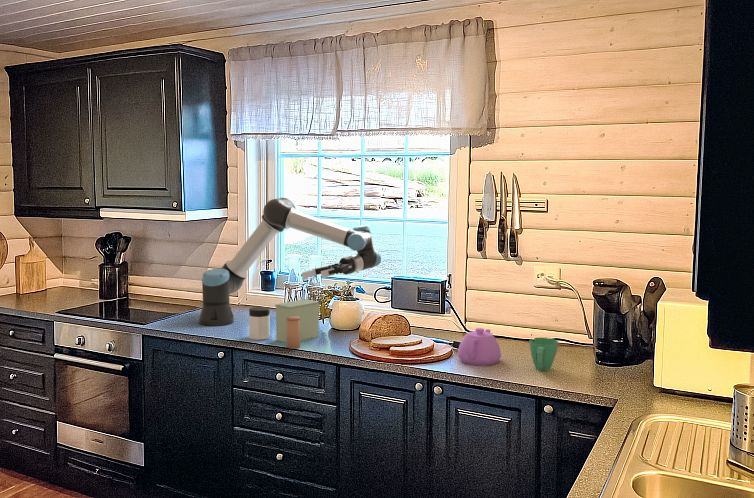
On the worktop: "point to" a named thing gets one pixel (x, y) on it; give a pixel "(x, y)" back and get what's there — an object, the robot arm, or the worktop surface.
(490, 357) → the teapot
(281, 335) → the green tin
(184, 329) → the worktop surface
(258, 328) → the jar
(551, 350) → the mug
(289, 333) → the rust tin
